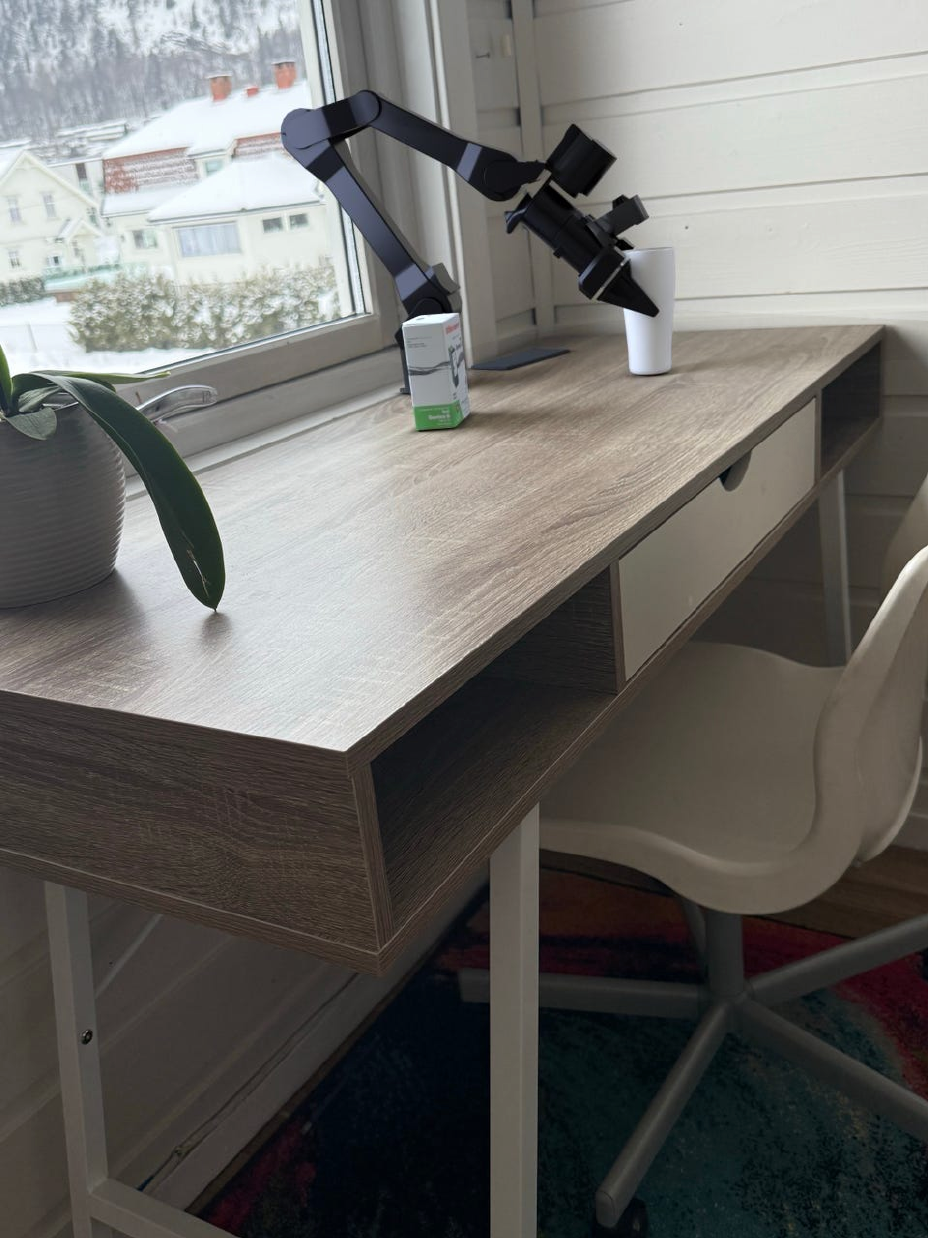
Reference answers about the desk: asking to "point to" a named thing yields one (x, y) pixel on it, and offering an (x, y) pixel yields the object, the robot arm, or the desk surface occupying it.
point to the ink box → (436, 370)
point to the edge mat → (519, 359)
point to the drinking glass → (644, 332)
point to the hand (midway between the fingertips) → (658, 310)
